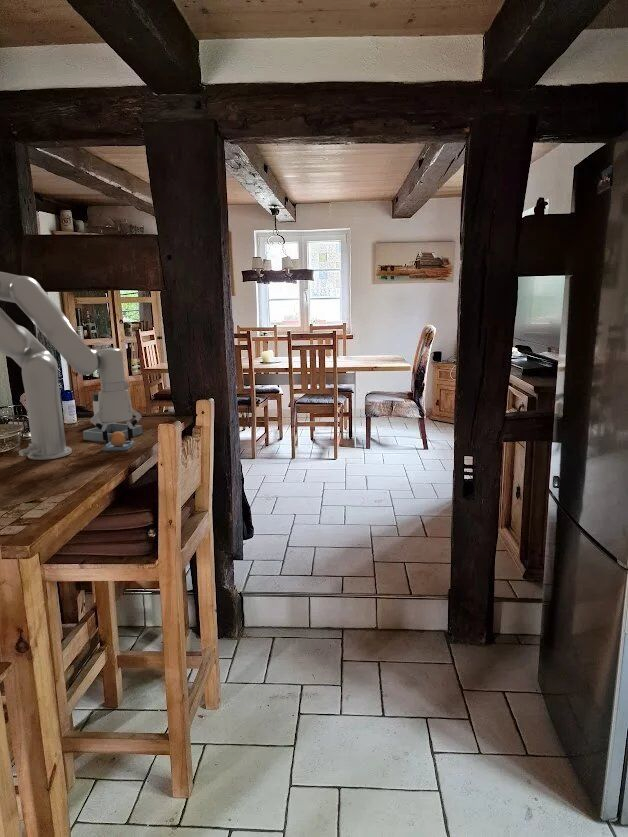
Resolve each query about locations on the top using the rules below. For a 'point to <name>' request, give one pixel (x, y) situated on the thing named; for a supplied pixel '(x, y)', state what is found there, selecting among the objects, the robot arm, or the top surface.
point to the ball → (118, 439)
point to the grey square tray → (97, 434)
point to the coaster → (113, 448)
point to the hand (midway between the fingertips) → (118, 440)
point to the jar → (96, 406)
